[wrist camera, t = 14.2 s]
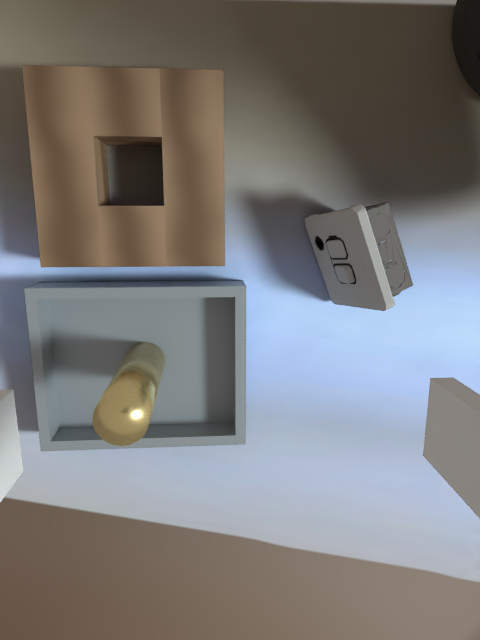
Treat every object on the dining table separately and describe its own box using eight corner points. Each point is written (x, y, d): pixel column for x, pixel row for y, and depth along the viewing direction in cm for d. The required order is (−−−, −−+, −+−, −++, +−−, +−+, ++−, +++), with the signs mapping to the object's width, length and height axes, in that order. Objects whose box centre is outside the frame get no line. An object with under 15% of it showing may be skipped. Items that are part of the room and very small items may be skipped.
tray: (242, 280, 46) (246, 286, 42) (242, 426, 50) (245, 444, 46) (39, 282, 45) (24, 288, 41) (54, 432, 48) (40, 451, 44)
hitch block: (221, 87, 42) (223, 69, 37) (222, 260, 46) (224, 265, 41) (43, 83, 41) (21, 65, 36) (58, 261, 45) (40, 267, 40)
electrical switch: (301, 218, 45) (335, 214, 36) (348, 199, 46) (393, 191, 37) (330, 304, 48) (369, 320, 39) (375, 285, 48) (424, 297, 39)
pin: (164, 341, 46) (147, 393, 32) (166, 379, 47) (150, 444, 33) (124, 342, 46) (90, 394, 32) (126, 380, 47) (94, 446, 33)
